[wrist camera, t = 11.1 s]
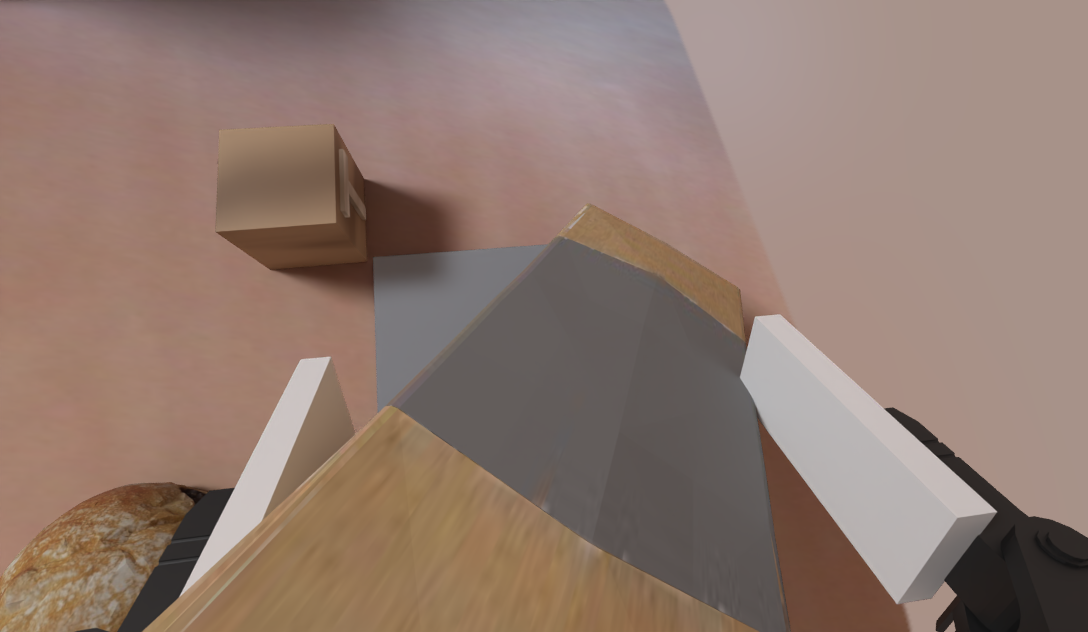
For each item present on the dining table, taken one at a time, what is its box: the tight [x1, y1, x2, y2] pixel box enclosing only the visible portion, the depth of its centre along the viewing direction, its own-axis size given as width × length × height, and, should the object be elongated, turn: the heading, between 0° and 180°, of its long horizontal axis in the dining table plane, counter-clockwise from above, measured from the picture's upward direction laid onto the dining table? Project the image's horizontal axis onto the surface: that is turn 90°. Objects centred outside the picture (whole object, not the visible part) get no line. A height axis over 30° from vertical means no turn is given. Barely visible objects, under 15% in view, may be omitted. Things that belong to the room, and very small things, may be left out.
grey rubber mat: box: [373, 245, 547, 413], centre depth 24 cm, size 20×15×1 cm
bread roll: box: [0, 482, 208, 632], centre depth 19 cm, size 10×10×8 cm
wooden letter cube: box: [215, 124, 367, 270], centre depth 23 cm, size 5×5×5 cm
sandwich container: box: [142, 204, 791, 632], centre depth 13 cm, size 9×15×15 cm, turn 150°
